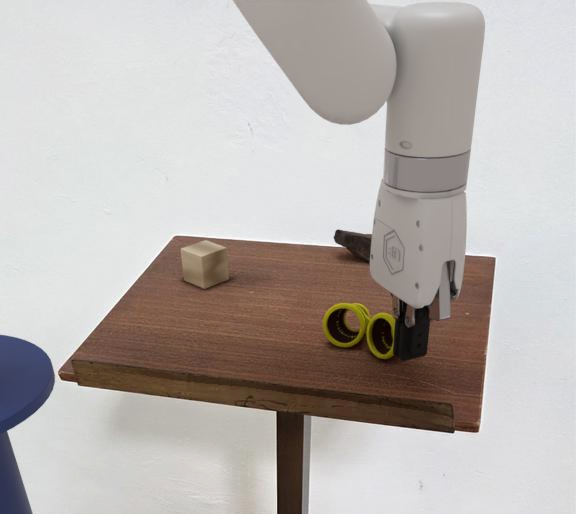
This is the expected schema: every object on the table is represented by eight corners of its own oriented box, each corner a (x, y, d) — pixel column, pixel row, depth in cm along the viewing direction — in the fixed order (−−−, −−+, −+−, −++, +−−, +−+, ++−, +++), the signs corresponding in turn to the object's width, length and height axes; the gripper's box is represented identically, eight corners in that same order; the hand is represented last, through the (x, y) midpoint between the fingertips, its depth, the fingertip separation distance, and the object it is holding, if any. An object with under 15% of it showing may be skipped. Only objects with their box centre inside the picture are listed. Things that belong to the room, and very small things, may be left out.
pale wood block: (204, 289, 99) (201, 256, 96) (183, 280, 101) (180, 248, 99) (229, 279, 101) (226, 247, 99) (208, 271, 104) (205, 239, 101)
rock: (412, 276, 108) (427, 245, 104) (391, 291, 103) (406, 260, 100) (346, 233, 110) (358, 202, 106) (323, 246, 106) (335, 214, 102)
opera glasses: (415, 355, 85) (422, 311, 82) (393, 365, 81) (401, 320, 79) (342, 334, 89) (348, 293, 87) (319, 343, 85) (324, 300, 83)
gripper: (348, 156, 71) (344, 334, 82) (437, 198, 60) (417, 396, 72) (416, 146, 73) (402, 321, 85) (512, 184, 63) (482, 378, 74)
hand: (409, 355), depth 78 cm, fingers closed
